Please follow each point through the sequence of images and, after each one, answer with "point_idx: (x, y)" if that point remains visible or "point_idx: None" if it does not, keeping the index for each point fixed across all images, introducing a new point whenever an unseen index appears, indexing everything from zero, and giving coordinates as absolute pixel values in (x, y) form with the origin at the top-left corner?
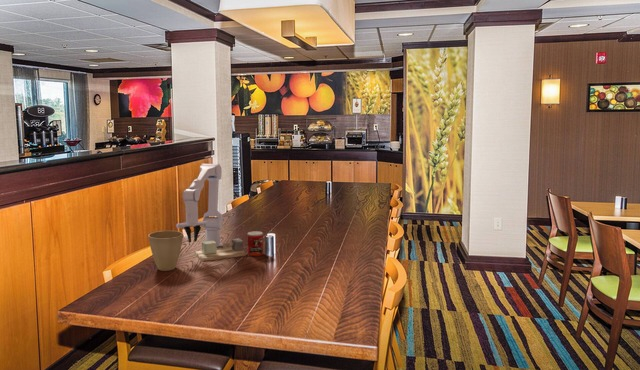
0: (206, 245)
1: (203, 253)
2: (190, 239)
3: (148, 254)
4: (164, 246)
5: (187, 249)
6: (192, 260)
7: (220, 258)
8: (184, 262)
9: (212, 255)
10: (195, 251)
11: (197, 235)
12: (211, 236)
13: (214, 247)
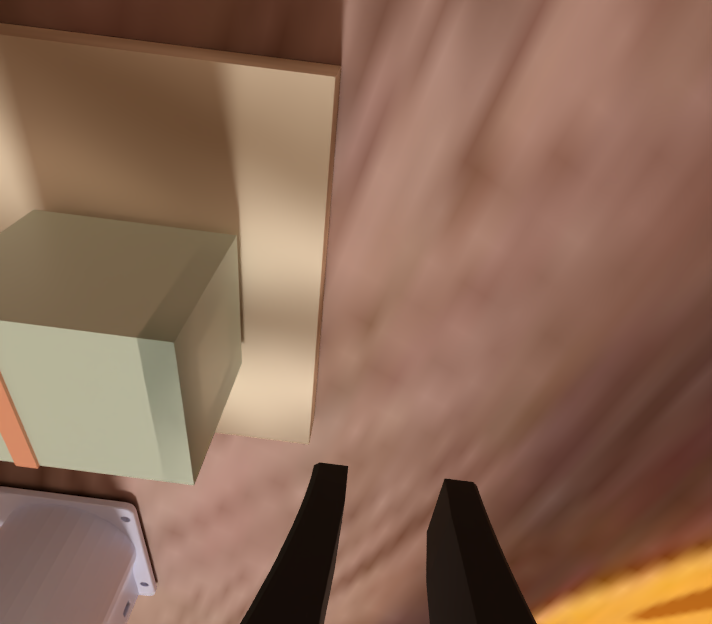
0: (139, 317)
1: None
2: (472, 534)
3: (680, 586)
4: None
5: None
6: (447, 202)
7: (8, 24)
8: (598, 171)
9: (120, 143)
10: (304, 430)
11: (265, 601)
12: (35, 620)
13: (8, 261)
